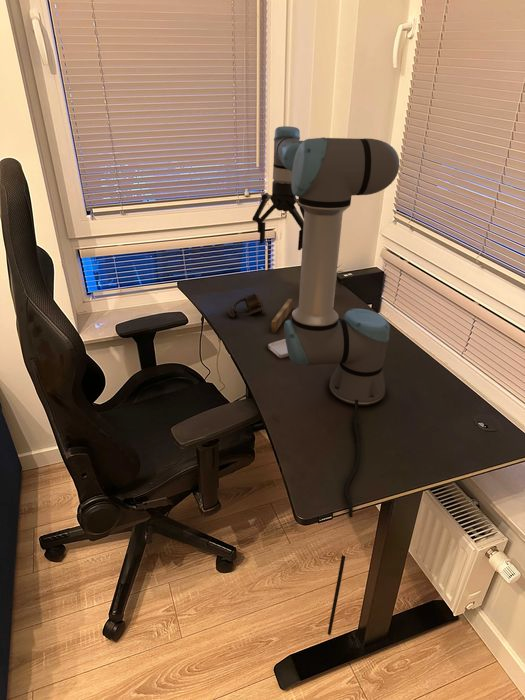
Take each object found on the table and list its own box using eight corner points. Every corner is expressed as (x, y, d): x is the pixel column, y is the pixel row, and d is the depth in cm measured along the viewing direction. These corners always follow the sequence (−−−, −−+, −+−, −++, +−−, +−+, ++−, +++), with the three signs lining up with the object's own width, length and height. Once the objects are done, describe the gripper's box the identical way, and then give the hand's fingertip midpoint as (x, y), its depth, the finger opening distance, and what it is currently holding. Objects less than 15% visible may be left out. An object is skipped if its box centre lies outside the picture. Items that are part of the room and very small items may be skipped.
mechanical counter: (265, 307, 168) (266, 289, 175) (227, 303, 167) (230, 284, 174) (262, 323, 173) (264, 305, 180) (226, 319, 172) (228, 300, 179)
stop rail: (275, 332, 165) (275, 322, 162) (271, 332, 165) (271, 321, 163) (291, 309, 179) (292, 299, 177) (288, 308, 179) (288, 298, 177)
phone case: (305, 335, 164) (267, 347, 156) (306, 332, 163) (267, 343, 156) (319, 346, 158) (280, 358, 151) (320, 342, 158) (280, 355, 151)
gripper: (326, 183, 156) (319, 248, 167) (252, 173, 163) (251, 236, 175) (319, 188, 150) (313, 255, 161) (243, 178, 158) (242, 242, 169)
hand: (280, 245), depth 168 cm, fingers open, 13 cm apart
